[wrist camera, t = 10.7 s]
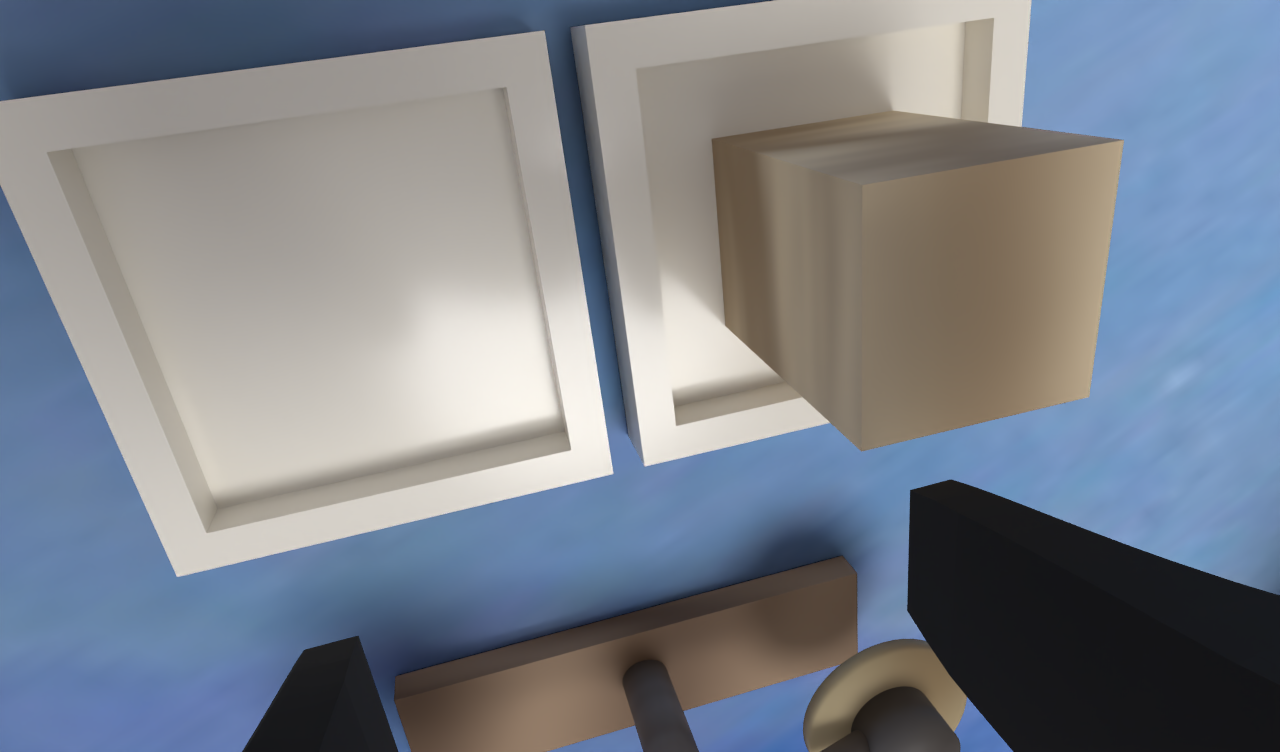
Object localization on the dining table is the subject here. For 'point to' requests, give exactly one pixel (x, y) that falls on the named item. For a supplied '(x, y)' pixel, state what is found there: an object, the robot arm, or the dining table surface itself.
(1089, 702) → the robot arm
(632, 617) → the balance
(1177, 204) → the dining table surface
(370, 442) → the white square tray
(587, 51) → the outer dish
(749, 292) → the maple block
